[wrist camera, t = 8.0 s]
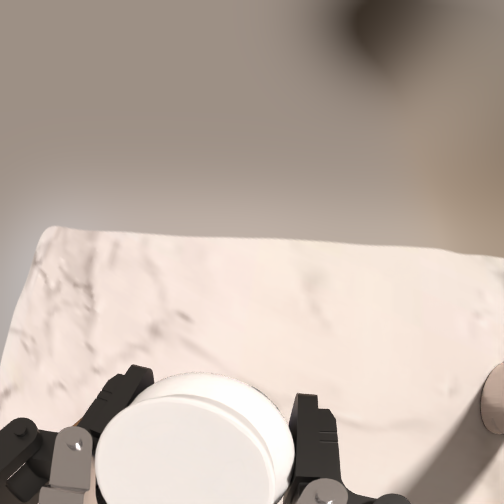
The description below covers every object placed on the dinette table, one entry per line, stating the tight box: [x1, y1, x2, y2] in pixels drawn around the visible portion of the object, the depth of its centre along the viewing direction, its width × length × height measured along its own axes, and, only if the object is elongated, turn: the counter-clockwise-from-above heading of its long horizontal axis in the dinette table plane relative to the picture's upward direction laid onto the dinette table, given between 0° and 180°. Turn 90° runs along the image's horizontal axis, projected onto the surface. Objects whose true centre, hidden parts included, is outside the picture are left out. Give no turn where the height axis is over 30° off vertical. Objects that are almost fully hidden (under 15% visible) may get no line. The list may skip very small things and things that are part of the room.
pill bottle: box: [95, 372, 295, 504], centre depth 9 cm, size 5×5×10 cm
